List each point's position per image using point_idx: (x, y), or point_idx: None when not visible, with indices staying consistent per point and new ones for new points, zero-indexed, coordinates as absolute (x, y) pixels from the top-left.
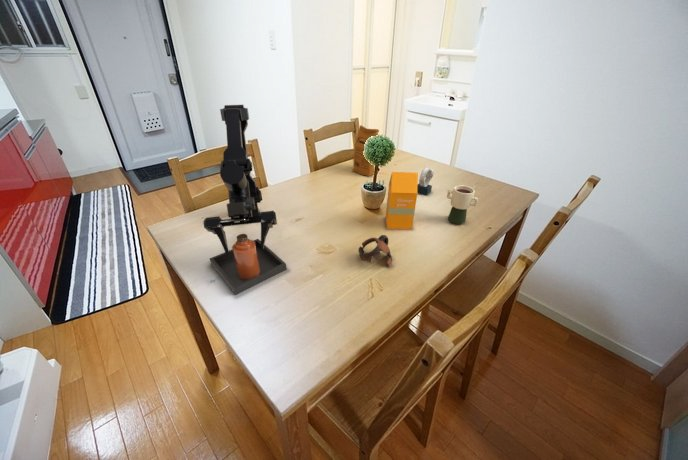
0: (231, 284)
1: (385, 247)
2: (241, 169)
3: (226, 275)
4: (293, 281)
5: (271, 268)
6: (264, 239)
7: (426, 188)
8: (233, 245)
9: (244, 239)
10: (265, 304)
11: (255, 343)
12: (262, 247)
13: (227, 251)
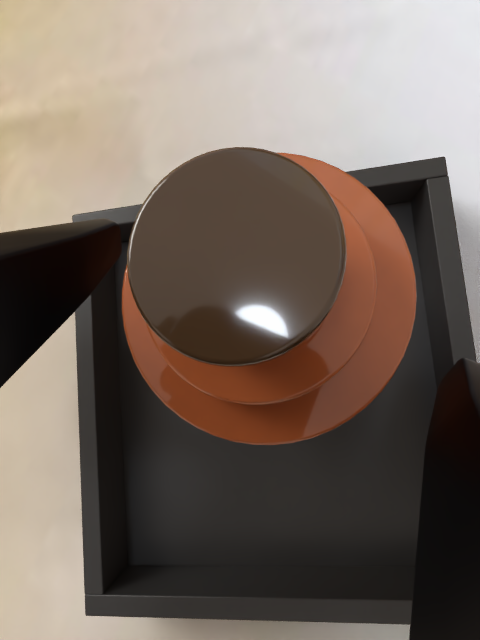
0: (448, 208)
1: None
2: None
3: (451, 319)
4: (118, 143)
5: None
6: (1, 235)
7: None
8: (375, 383)
9: (223, 151)
10: (307, 60)
11: None
12: (98, 219)
13: (460, 376)
